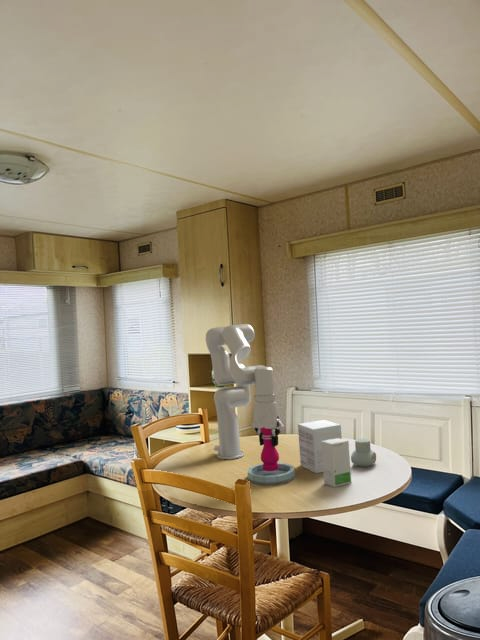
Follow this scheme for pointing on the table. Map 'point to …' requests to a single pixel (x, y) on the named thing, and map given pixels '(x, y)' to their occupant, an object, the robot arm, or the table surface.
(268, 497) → the table surface
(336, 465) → the skincare box
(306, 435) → the supplement box
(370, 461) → the air freshener
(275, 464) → the pepper mill
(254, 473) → the round tray
